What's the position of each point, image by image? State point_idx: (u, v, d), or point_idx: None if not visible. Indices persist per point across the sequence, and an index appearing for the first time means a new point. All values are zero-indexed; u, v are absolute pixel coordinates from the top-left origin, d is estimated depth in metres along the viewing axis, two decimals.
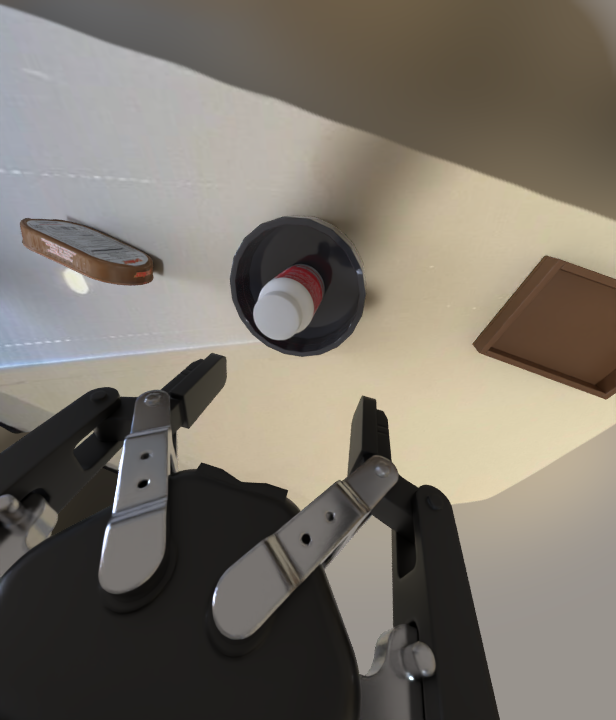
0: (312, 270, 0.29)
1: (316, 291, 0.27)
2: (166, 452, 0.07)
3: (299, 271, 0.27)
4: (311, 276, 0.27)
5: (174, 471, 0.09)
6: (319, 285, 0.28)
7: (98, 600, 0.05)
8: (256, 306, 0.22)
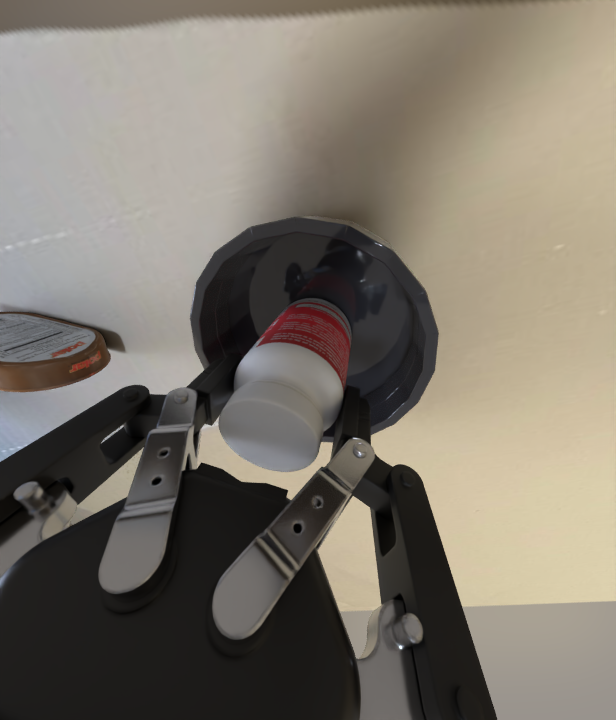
0: (324, 306, 0.17)
1: (339, 347, 0.14)
2: (183, 452, 0.08)
3: (301, 317, 0.14)
4: (324, 320, 0.15)
5: None
6: (342, 330, 0.16)
7: (98, 600, 0.05)
8: (221, 422, 0.10)
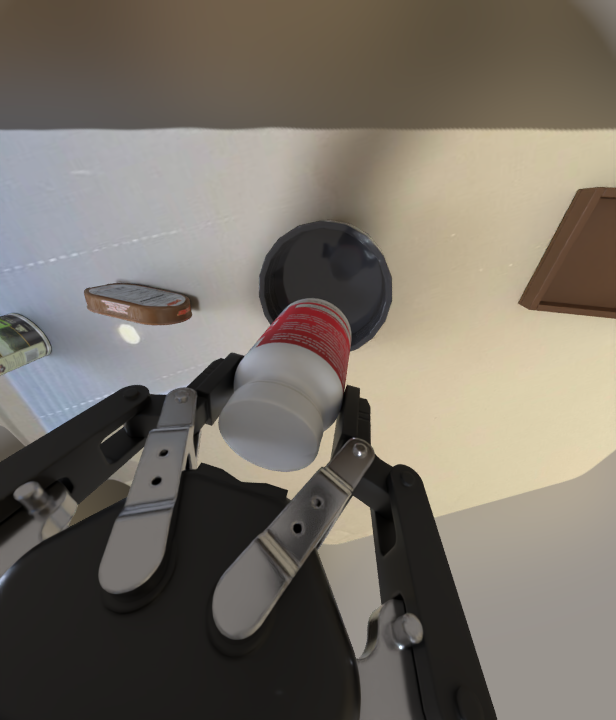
0: (324, 306, 0.17)
1: (339, 347, 0.14)
2: (183, 452, 0.08)
3: (301, 317, 0.14)
4: (324, 320, 0.15)
5: None
6: (342, 330, 0.16)
7: (98, 600, 0.05)
8: (221, 422, 0.11)
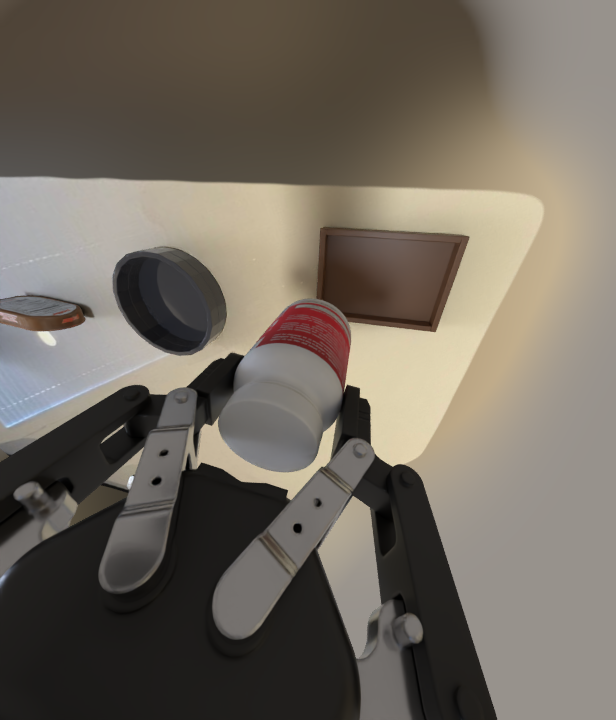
0: (324, 306, 0.17)
1: (339, 347, 0.14)
2: (183, 452, 0.08)
3: (301, 317, 0.14)
4: (324, 320, 0.15)
5: None
6: (341, 330, 0.16)
7: (98, 600, 0.05)
8: (221, 422, 0.11)
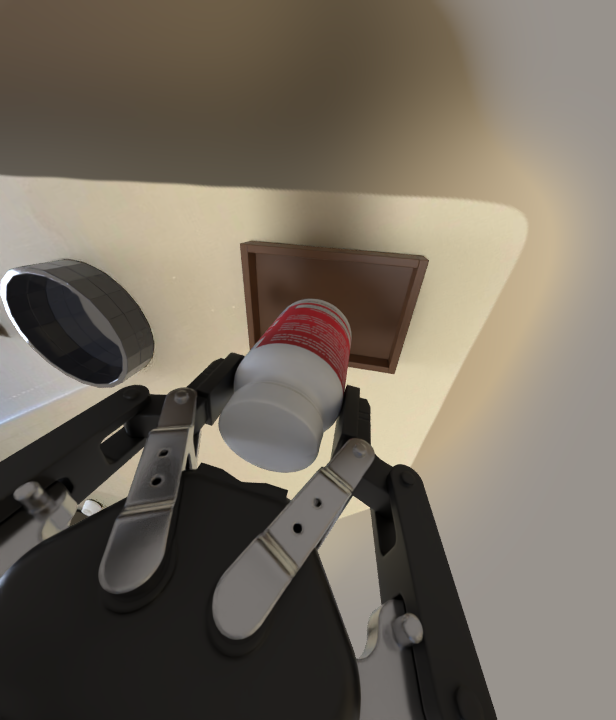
0: (324, 306, 0.17)
1: (339, 347, 0.14)
2: (183, 452, 0.08)
3: (301, 317, 0.14)
4: (324, 320, 0.15)
5: None
6: (342, 331, 0.16)
7: (98, 600, 0.05)
8: (221, 423, 0.11)
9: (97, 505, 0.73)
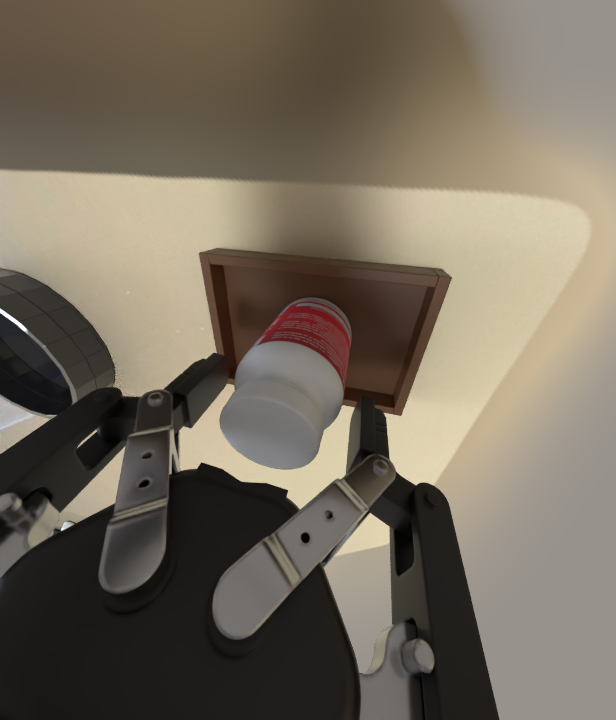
0: (325, 305, 0.17)
1: (339, 345, 0.14)
2: (168, 452, 0.07)
3: (301, 316, 0.15)
4: (324, 319, 0.15)
5: (176, 471, 0.09)
6: (342, 329, 0.16)
7: (98, 600, 0.05)
8: (222, 420, 0.11)
9: None
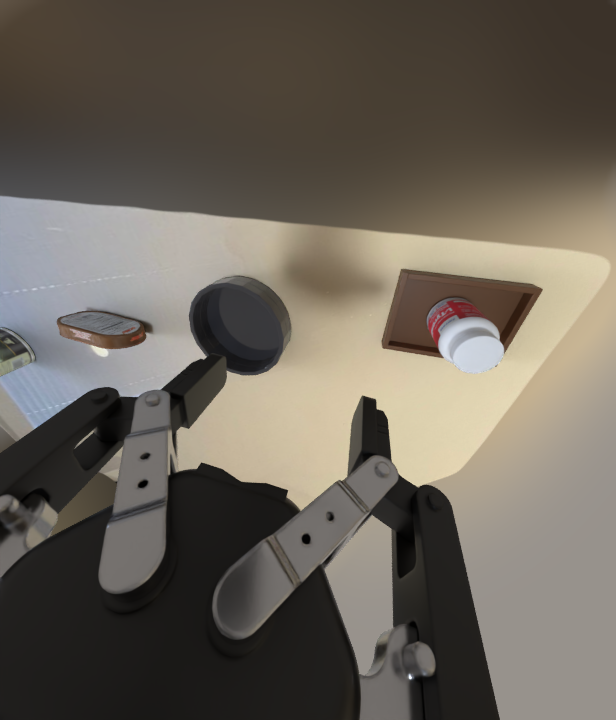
0: (468, 301, 0.31)
1: None
2: (166, 452, 0.07)
3: (467, 306, 0.29)
4: (476, 308, 0.30)
5: (174, 471, 0.09)
6: None
7: (98, 600, 0.05)
8: (459, 348, 0.25)
9: None
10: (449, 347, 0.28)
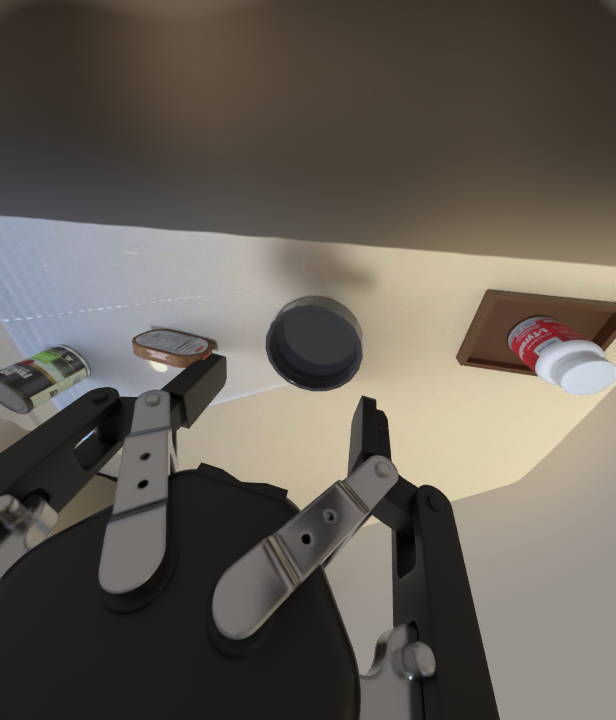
0: (557, 321, 0.32)
1: None
2: (166, 452, 0.07)
3: (562, 327, 0.30)
4: (571, 329, 0.30)
5: (174, 471, 0.09)
6: None
7: (98, 600, 0.05)
8: (570, 372, 0.26)
9: None
10: (551, 369, 0.28)
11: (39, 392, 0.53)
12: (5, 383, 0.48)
